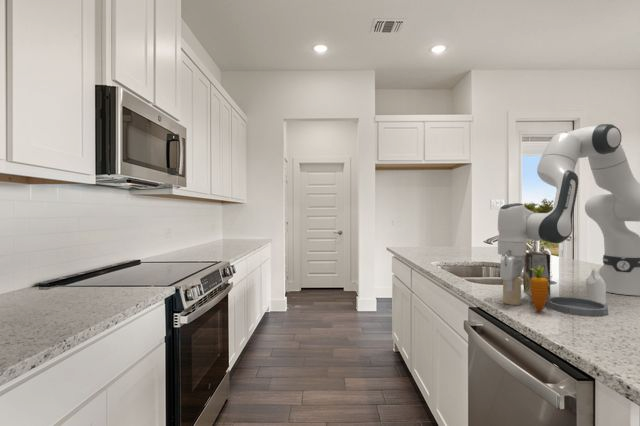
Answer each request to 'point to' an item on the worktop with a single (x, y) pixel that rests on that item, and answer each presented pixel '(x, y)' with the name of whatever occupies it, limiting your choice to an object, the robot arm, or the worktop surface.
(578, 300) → the dish
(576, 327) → the worktop surface
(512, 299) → the candle
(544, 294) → the carrot
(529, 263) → the coffee box
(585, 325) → the worktop surface
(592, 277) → the white plastic bottle
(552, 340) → the worktop surface
